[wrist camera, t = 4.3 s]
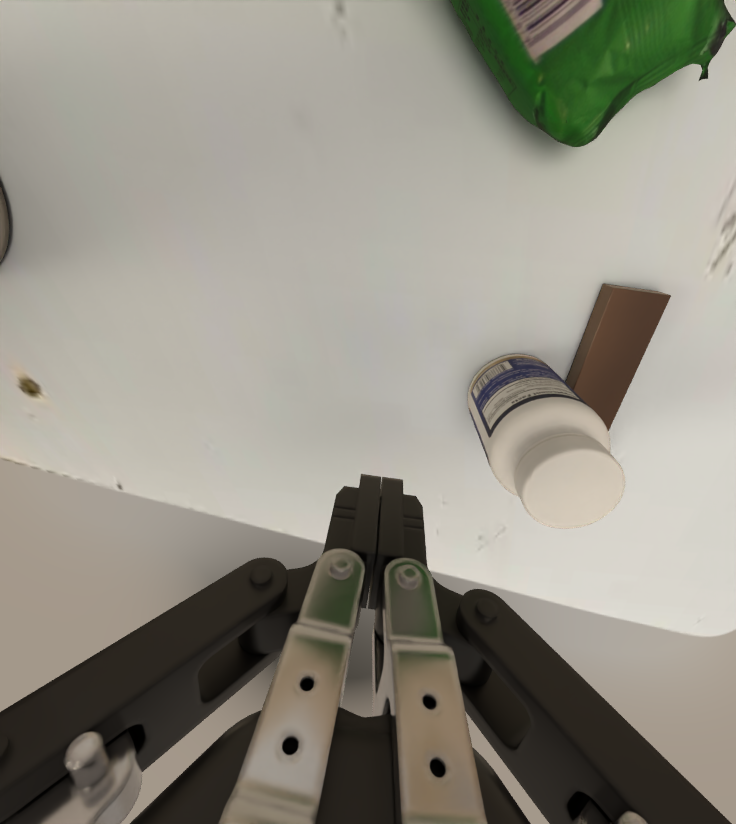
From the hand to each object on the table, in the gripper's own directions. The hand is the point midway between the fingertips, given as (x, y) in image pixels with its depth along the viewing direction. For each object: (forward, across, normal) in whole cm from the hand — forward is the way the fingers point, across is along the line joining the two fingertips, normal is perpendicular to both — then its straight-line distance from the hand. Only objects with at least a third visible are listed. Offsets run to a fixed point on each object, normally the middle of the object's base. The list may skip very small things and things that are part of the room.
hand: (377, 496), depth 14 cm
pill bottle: (+12, -8, 0) cm, 14 cm away
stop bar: (+12, -12, -1) cm, 17 cm away
